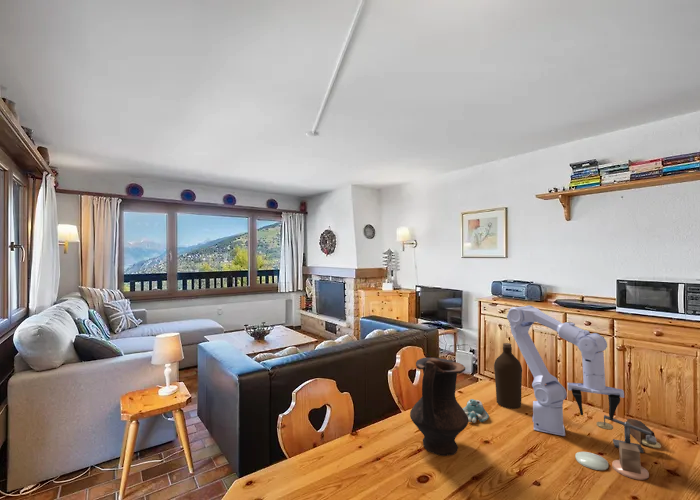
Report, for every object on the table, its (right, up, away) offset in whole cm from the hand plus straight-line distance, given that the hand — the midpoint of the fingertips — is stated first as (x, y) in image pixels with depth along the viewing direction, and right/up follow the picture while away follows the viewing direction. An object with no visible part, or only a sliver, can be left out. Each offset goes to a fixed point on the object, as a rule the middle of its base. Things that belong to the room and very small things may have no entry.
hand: (596, 416), depth 108 cm
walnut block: (+2, -9, -11) cm, 15 cm away
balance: (+11, -10, +1) cm, 15 cm away
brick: (+19, -11, +6) cm, 23 cm away
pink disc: (+2, -10, -11) cm, 15 cm away
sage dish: (-6, -10, -7) cm, 14 cm away
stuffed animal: (-31, -12, +22) cm, 40 cm away
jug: (-50, -11, +2) cm, 51 cm away
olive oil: (-12, -12, +34) cm, 38 cm away
